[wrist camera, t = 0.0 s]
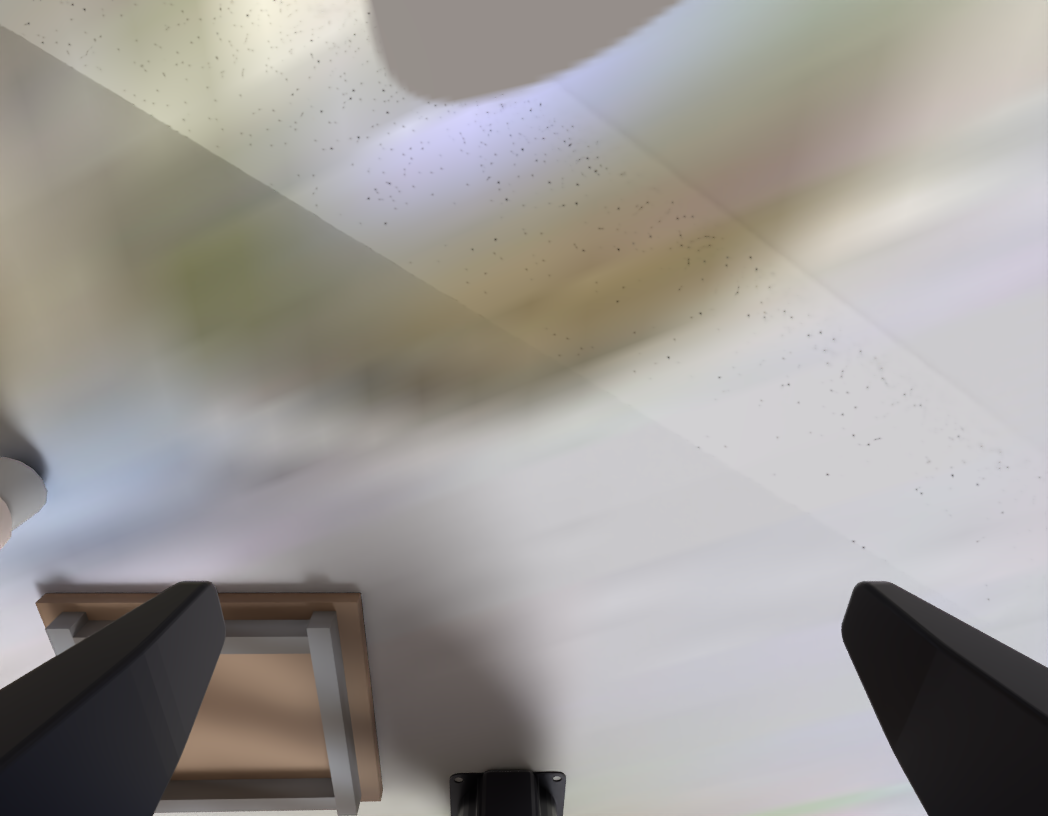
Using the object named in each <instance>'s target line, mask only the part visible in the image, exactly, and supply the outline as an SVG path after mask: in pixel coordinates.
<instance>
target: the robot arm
mask: <svg viewBox="0 0 1048 816" xmlns="http://www.w3.org/2000/svg"><path fill="white" fill-rule="evenodd" d="M841 632H842V638H843V642H844V644H845V647H846V649H847V651H848V653H849V656H850V658H851V660H852V662H853V665H854V667H855V669H856V671H857V673H858V676H859V678H860V680H861V682H862V685H863V687H864V689H865V691H866V694H867V696H868V698H869V700H870V702H871V705H872V707H873V709H874V711H875V714H876V716H877V718H878V720H879V723H880V725H881V727H882V729H883V731H884V734H885V736H886V738H887V740H888V742H889V744H890V746H891V748H892V750H893V752H894V754H895V756H896V758H897V760H898V762H899V764H900V765H901V767H902V769H903V771H904V773H905V775H906V776H907V778H908V780H909V782H910V784H911V785H912V787H913V789H914V791H915V793H916V794H917V796H918V798H919V800H920V802H921V803H922V805H923V807H924V809H925V810H926V812H927V814H928V816H1048V668H1047V667H1045V666H1044V665H1042V664H1040V663H1038V662H1036V661H1034V660H1033V659H1031V658H1029V657H1027V656H1025V655H1023V654H1022V653H1020V652H1018V651H1016V650H1014V649H1012V648H1011V647H1009V646H1007V645H1005V644H1003V643H1001V642H999V641H998V640H996V639H994V638H992V637H990V636H988V635H987V634H985V633H983V632H981V631H979V630H977V629H976V628H974V627H972V626H970V625H968V624H966V623H965V622H963V621H961V620H959V619H957V618H955V617H954V616H952V615H950V614H948V613H946V612H944V611H943V610H941V609H939V608H937V607H935V606H933V605H932V604H930V603H928V602H926V601H924V600H922V599H920V598H919V597H917V596H915V595H913V594H911V593H909V592H908V591H906V590H904V589H902V588H900V587H898V586H897V585H895V584H893V583H890V582H885V581H863V582H860V583H858V584H857V585H856V586H855V587H854V589H853V592H852V595H851V598H850V601H849V604H848V607H847V610H846V613H845V616H844V619H843V622H842V629H841ZM225 636H226V626H225V621H224V617H223V613H222V609H221V605H220V601H219V596H218V592H217V589H216V587H215V585H214V584H213V583H211V582H209V581H183V582H179V583H177V584H175V585H173V586H171V587H170V588H168V589H166V590H165V591H163V592H161V593H160V594H158V595H156V596H155V597H153V598H151V599H150V600H148V601H146V602H145V603H143V604H141V605H140V606H138V607H136V608H135V609H133V610H132V611H130V612H128V613H127V614H125V615H123V616H122V617H120V618H118V619H117V620H115V621H113V622H112V623H110V624H108V625H107V626H105V627H103V628H102V629H100V630H98V631H97V632H95V633H93V634H92V635H90V636H88V637H87V638H85V639H83V640H82V641H80V642H78V643H77V644H75V645H74V646H72V647H70V648H69V649H67V650H65V651H64V652H62V653H60V654H59V655H57V656H55V657H54V658H52V659H50V660H49V661H47V662H45V663H44V664H42V665H40V666H39V667H37V668H35V669H34V670H32V671H30V672H29V673H27V674H25V675H24V676H22V677H20V678H19V679H17V680H15V681H14V682H12V683H11V684H9V685H7V686H6V687H4V688H2V689H1V690H0V816H153V814H154V812H155V810H156V808H157V806H158V804H159V802H160V800H161V798H162V796H163V794H164V792H165V790H166V788H167V785H168V783H169V781H170V779H171V777H172V775H173V773H174V771H175V769H176V766H177V764H178V762H179V760H180V758H181V755H182V753H183V750H184V748H185V745H186V743H187V740H188V738H189V735H190V733H191V730H192V727H193V725H194V722H195V719H196V717H197V714H198V711H199V709H200V706H201V704H202V701H203V698H204V696H205V693H206V690H207V688H208V685H209V682H210V680H211V677H212V675H213V672H214V669H215V667H216V664H217V661H218V659H219V656H220V653H221V651H222V648H223V645H224V642H225ZM555 776H560V777H561V779H560V780H558V781H555V780H553V777H555ZM458 777H459V778H462V779H463V781H462V782H456V781H455V778H458ZM565 785H566V776H565V774H564V773H561V772H531V771H529V770H520V771H486V772H485V773H457V774H454V775H452V776H451V777H450V799H451V816H563V808H564V796H565Z"/></svg>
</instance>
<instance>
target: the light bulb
mask: <svg viewBox="0 0 1048 816" xmlns="http://www.w3.org/2000/svg"><path fill="white" fill-rule="evenodd" d="M46 500H47V489H46V487H45V484H44V482H43V479H42V478H41V477H40V476H39V475H38V474H37V473H36V472H35V471H34V469H32V468H31V467H29V466H27V465H26V464H24V463H22V462H21V461H18V460H14V459H11V458H7V457H0V550H1V549H2V548H3V547H4V545H5V544H6V543H7V541H8V540H9V539H10V537H11V532H12V531H13V530H14V529H16V528H17V527H19V526H20V525H21V524H23V523H24V522H25V521H27V520H28V519H30V518H31V517H32V516H34V515H35V514H36V513H38V512H39V511H40V510H41V508H42V507H43V506H44V505H45V503H46Z"/></svg>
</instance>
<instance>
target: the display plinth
mask: <svg viewBox="0 0 1048 816" xmlns="http://www.w3.org/2000/svg"><path fill="white" fill-rule="evenodd" d="M158 594H160V593H46V594H45V595H44V596H42V597H41V598H40V599H39V600H38V601H37V602H36V606H37V608H38V611H39V613H40V616H41V618H42V620H43V623H44V625H45V630H46V633H47V635H48V638H49V640H50V642H51V645H52V647H53V650H54V652H55V655H56V656H57V655H59V654H60V653H62V652H64V651H65V650H67V649H69V648H70V647H72V646H74V645H75V644H77V643H78V642H80V641H82V640H83V639H85V638H87V637H88V636H90V635H92V634H93V633H95V632H97V631H98V630H100V629H102V628H103V627H105V626H107V625H108V624H110V623H112V622H113V621H115V620H117V619H118V618H120V617H122V616H123V615H125V614H127V613H128V612H130V611H132V610H133V609H135V608H136V607H138V606H140V605H141V604H143V603H145V602H146V601H148V600H150V599H151V598H153V597H155V596H156V595H158ZM218 596H219V601H220V605H221V609H222V613H223V617H224V621H225V626H226V636H225V642H224V645H223V648H222V651H221V653H220V656H219V659H218V661H217V664H216V667H215V669H214V672H213V675H212V677H211V680H210V682H209V685H208V688H207V690H206V693H205V696H204V698H203V701H202V704H201V706H200V709H199V711H198V714H197V717H196V719H195V722H194V725H193V727H192V730H191V733H190V735H189V738H188V740H187V743H186V745H185V748H184V750H183V753H182V755H181V758H180V760H179V762H178V764H177V766H176V769H175V771H174V773H173V775H172V777H171V779H170V781H169V783H168V785H167V788H166V790H165V792H164V794H163V796H162V798H161V800H160V802H159V804H158V806H157V808H156V810H155V812H154V813H170V812H229V811H289V810H337V814H338V816H349V815H357V813H358V809H359V804H360V802H363V801H381V797H382V792H383V787H382V778H381V769H380V760H379V751H378V742H377V734H376V725H375V716H374V707H373V698H372V690H371V681H370V672H369V663H368V654H367V645H366V637H365V628H364V619H363V610H362V601H361V593H218Z"/></svg>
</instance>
